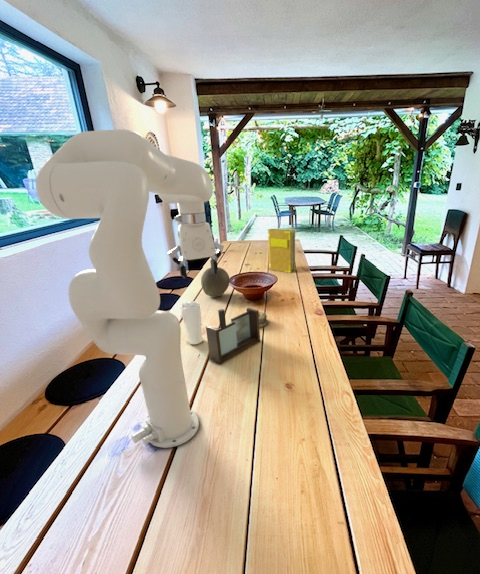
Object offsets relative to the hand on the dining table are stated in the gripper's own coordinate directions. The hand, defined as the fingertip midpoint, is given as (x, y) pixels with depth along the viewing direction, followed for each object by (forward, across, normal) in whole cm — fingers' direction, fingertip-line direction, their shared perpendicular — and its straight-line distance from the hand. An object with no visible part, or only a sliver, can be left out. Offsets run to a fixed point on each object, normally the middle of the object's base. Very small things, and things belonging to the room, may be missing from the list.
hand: (199, 275), depth 102 cm
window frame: (+28, +9, -3) cm, 30 cm away
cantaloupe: (+28, +22, +54) cm, 65 cm away
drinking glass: (+28, -2, +11) cm, 31 cm away
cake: (+28, +25, +14) cm, 40 cm away
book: (+27, +75, +77) cm, 111 cm away
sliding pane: (+27, +5, -5) cm, 28 cm away
